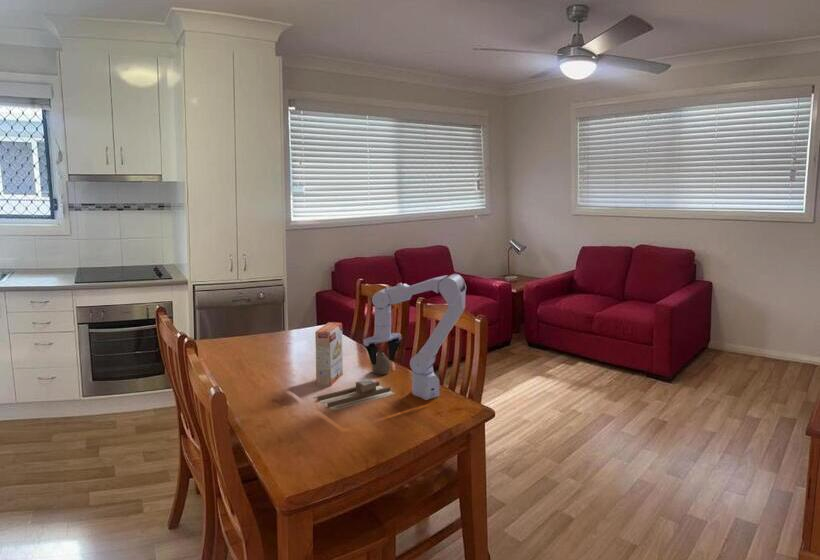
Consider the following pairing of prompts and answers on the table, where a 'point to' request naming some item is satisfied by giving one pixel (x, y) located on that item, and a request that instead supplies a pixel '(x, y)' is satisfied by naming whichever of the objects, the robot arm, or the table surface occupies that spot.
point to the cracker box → (328, 354)
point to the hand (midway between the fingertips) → (382, 362)
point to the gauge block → (365, 386)
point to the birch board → (352, 397)
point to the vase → (381, 364)
